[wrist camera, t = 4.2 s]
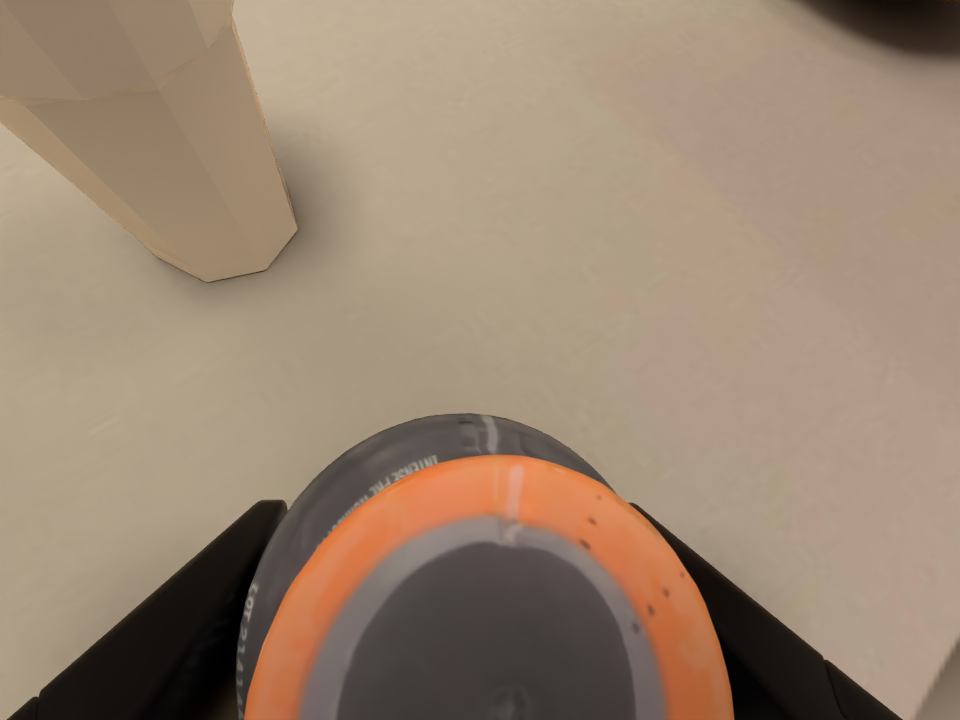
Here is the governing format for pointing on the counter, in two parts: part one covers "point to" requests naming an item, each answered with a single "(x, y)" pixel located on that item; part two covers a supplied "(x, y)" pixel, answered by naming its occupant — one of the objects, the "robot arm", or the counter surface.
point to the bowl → (951, 1)
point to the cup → (151, 124)
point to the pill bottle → (473, 591)
